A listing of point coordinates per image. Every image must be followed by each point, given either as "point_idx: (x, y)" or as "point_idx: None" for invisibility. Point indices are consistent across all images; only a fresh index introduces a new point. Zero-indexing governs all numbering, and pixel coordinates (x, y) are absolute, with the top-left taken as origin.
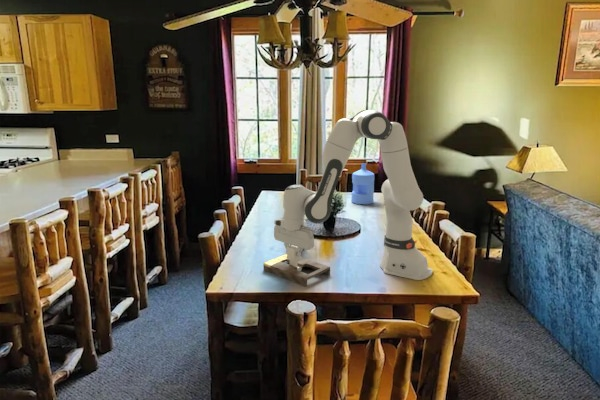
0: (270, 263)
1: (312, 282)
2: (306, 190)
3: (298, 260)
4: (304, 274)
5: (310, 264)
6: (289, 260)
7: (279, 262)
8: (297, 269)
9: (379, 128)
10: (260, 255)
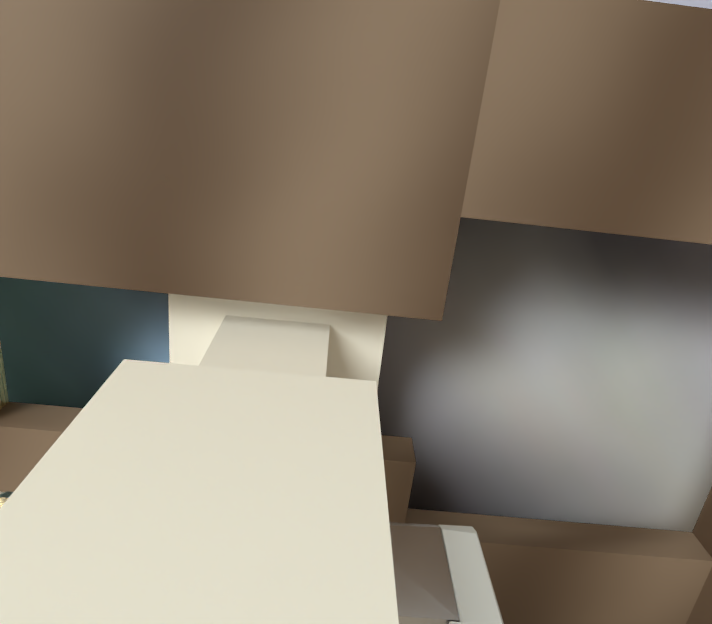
0: None
1: (706, 454)
2: None
3: (219, 178)
4: (664, 592)
5: (572, 210)
6: (64, 280)
7: (16, 470)
8: (378, 374)
9: None
10: None
